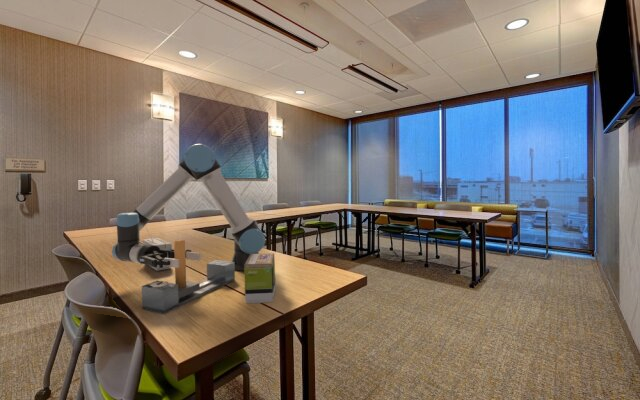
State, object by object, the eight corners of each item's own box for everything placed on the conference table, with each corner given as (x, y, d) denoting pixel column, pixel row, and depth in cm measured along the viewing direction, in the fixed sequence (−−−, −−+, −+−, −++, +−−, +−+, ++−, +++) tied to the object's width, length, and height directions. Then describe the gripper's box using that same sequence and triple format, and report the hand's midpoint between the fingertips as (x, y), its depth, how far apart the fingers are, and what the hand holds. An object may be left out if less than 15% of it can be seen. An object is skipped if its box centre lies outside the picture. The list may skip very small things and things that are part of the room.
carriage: (183, 286, 115) (182, 237, 114) (199, 289, 112) (198, 238, 111) (161, 295, 106) (159, 242, 105) (178, 299, 103) (176, 244, 102)
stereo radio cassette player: (173, 269, 146) (172, 229, 145) (155, 272, 141) (153, 231, 139) (160, 260, 161) (158, 224, 160) (143, 263, 155) (141, 226, 154)
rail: (216, 277, 134) (216, 258, 133) (234, 280, 130) (234, 260, 129) (142, 309, 100) (141, 283, 100) (163, 314, 97) (162, 287, 96)
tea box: (250, 288, 120) (250, 252, 119) (275, 288, 121) (275, 252, 120) (244, 304, 105) (243, 263, 104) (273, 303, 106) (272, 262, 105)
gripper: (170, 257, 126) (211, 262, 117) (118, 271, 105) (163, 279, 97) (169, 239, 125) (211, 243, 117) (117, 250, 105) (162, 257, 96)
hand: (189, 260), depth 107 cm, fingers open, 9 cm apart
